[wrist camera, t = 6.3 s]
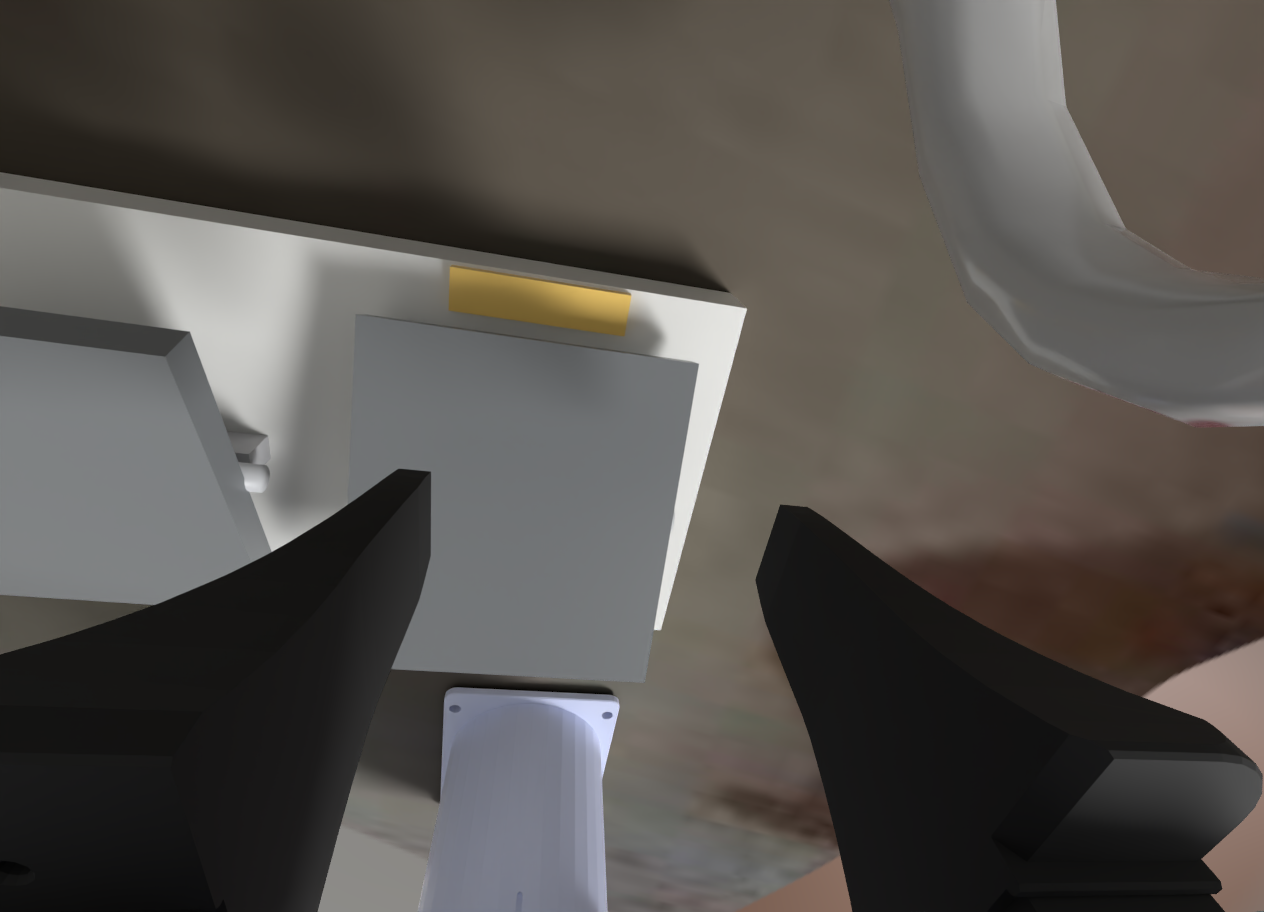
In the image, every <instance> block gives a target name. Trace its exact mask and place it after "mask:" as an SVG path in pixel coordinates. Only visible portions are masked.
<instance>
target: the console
mask: <svg viewBox="0 0 1264 912" xmlns="http://www.w3.org/2000/svg"><path fill="white" fill-rule="evenodd" d="M0 306H3V307H10V308H18V309H25V310H33V311H40V312H48V313H55V314H62V315H70V316H77V317H85V318H92V319H100V320H107V321H115V322H122V323H130V324H137V325H145V326H152V327H160V328H167V329H175V330H182V331H190V333H191V336H192V339H193V342H194V344H195V347H196V350H197V352H198V355H199V358H200V360H201V363H202V366H203V368H204V371H205V374H206V376H207V379H208V382H209V385H210V387H211V390H212V393H213V395H214V398H215V401H216V403H217V406H218V409H219V411H220V414H221V417H222V420H223V422H224V425H225V428H226V430H227V433H228V436H229V438H230V441H231V444H232V446H233V449H234V452H235V454H236V457H237V460H238V462H242V463H252V464H262V465H267V466H268V468H269V471H270V478H269V483H268V486H267V488H266V490H265V491H264V492H262V493H258V492H250V495H251V498H252V500H253V503H254V506H255V508H256V511H257V514H258V516H259V519H260V522H261V524H262V527H263V530H264V532H265V535H266V538H267V541H268V543H269V546H270V549H271V551H274V550H276V549H278V548H280V547H281V546H283V545H285V544H287V543H289V542H290V541H292V540H293V539H295V538H297V537H298V536H300V535H301V534H303V533H305V532H306V531H308V530H310V529H311V528H313V527H314V526H316V525H318V524H319V523H321V522H322V521H324V520H326V519H327V518H329V517H331V516H332V515H333V514H335V513H336V512H338V511H339V510H341V509H342V508H344V507H345V506H346V505H347V503H348V497H347V489H348V480H349V457H350V434H351V410H352V387H353V364H354V341H355V317H356V314H361V315H374V316H381V317H388V318H395V319H402V320H409V321H416V322H423V323H430V324H437V325H444V326H451V327H458V328H465V329H472V330H478V331H485V332H492V333H499V334H506V335H513V336H520V337H527V338H534V339H541V340H548V341H555V342H562V343H569V344H575V345H582V346H589V347H596V348H603V349H610V350H617V351H624V352H631V353H638V354H645V355H652V356H659V357H666V358H672V359H679V360H686V361H692V362H695V363H698V364H699V368H698V373H697V379H696V385H695V391H694V397H693V403H692V409H691V414H690V420H689V426H688V432H687V438H686V444H685V450H684V455H683V461H682V467H681V473H680V479H679V485H678V490H677V496H676V502H675V508H674V511H675V520H674V526H673V529H672V531H671V532H670V537H669V543H668V549H667V555H666V561H665V567H664V572H663V578H662V584H661V590H660V596H659V602H658V608H657V613H656V619H655V625H654V630H661V627H662V623H663V620H664V616H665V612H666V609H667V605H668V601H669V597H670V594H671V590H672V586H673V582H674V579H675V575H676V571H677V568H678V564H679V560H680V556H681V553H682V549H683V545H684V541H685V538H686V534H687V530H688V526H689V523H690V519H691V515H692V512H693V508H694V504H695V500H696V497H697V493H698V489H699V485H700V482H701V478H702V474H703V471H704V467H705V463H706V459H707V456H708V452H709V448H710V444H711V441H712V437H713V433H714V429H715V426H716V422H717V418H718V415H719V411H720V407H721V403H722V400H723V396H724V392H725V388H726V385H727V381H728V377H729V374H730V370H731V366H732V362H733V359H734V355H735V351H736V347H737V344H738V340H739V336H740V332H741V329H742V325H743V321H744V318H745V314H746V310H747V308H746V307H745V306H744V305H743V304H742V303H741V302H740V301H739V300H738V299H737V298H736V297H735V296H734V295H733V294H732V293H728V292H722V291H716V290H710V289H704V288H698V287H691V286H685V285H679V284H673V283H667V282H661V281H655V280H649V279H643V278H637V277H631V276H625V275H619V274H613V273H607V272H601V271H595V270H589V269H583V268H577V267H571V266H564V265H558V264H552V263H546V262H540V261H534V260H528V259H522V258H516V257H510V256H504V255H498V254H492V253H486V252H480V251H474V250H468V249H462V248H456V247H450V246H444V245H438V244H431V243H425V242H419V241H413V240H407V239H401V238H395V237H389V236H383V235H377V234H371V233H365V232H359V231H353V230H347V229H341V228H335V227H329V226H323V225H317V224H311V223H304V222H298V221H292V220H286V219H280V218H274V217H268V216H262V215H256V214H250V213H244V212H238V211H232V210H226V209H220V208H214V207H208V206H202V205H196V204H190V203H184V202H178V201H171V200H165V199H159V198H153V197H147V196H141V195H135V194H129V193H123V192H117V191H111V190H105V189H99V188H93V187H87V186H81V185H75V184H69V183H63V182H57V181H51V180H44V179H38V178H32V177H26V176H20V175H14V174H8V173H2V172H0Z"/></svg>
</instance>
